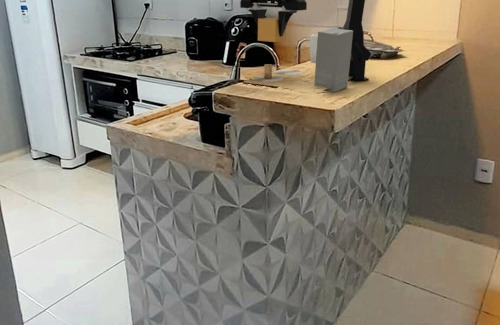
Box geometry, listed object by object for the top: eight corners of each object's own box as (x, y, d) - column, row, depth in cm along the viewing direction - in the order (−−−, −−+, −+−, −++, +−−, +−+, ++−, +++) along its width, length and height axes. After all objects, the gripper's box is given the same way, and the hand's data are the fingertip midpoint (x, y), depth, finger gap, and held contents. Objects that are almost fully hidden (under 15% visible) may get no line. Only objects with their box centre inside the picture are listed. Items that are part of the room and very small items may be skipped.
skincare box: (328, 84, 140) (331, 27, 134) (350, 88, 135) (355, 29, 130) (312, 89, 133) (314, 30, 128) (335, 93, 129) (339, 31, 124)
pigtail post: (273, 78, 142) (273, 64, 141) (269, 79, 140) (269, 65, 139) (266, 77, 143) (266, 64, 142) (262, 79, 141) (262, 65, 140)
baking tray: (413, 56, 194) (415, 42, 192) (392, 63, 177) (394, 47, 176) (345, 49, 211) (346, 36, 209) (320, 54, 194) (321, 40, 192)
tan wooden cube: (285, 40, 141) (286, 18, 139) (275, 42, 136) (275, 19, 134) (268, 38, 144) (269, 17, 142) (257, 40, 139) (258, 18, 137)
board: (311, 75, 153) (311, 71, 152) (276, 88, 135) (276, 83, 135) (280, 72, 158) (280, 68, 158) (242, 83, 141) (242, 79, 140)
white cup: (330, 66, 168) (332, 36, 165) (307, 65, 170) (309, 36, 166) (331, 62, 175) (333, 34, 172) (309, 62, 177) (311, 33, 173)
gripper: (317, -23, 135) (314, 35, 141) (260, -23, 145) (259, 31, 151) (298, -23, 127) (295, 39, 132) (239, -24, 136) (238, 34, 142)
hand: (271, 35), depth 139 cm, fingers closed on tan wooden cube, 6 cm apart
